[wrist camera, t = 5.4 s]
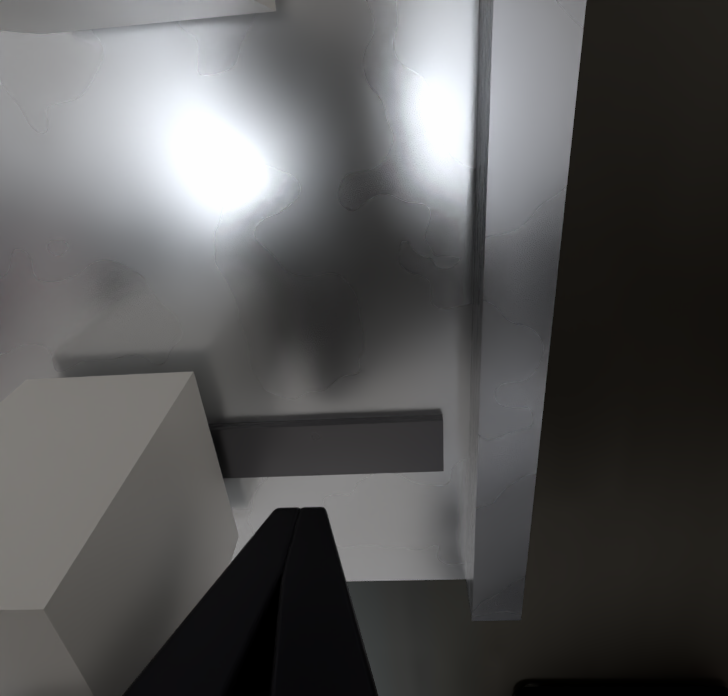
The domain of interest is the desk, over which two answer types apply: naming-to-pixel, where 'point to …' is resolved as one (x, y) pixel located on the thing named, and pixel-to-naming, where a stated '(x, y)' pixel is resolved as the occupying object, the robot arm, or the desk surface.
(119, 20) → the fader
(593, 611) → the desk surface
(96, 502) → the fader
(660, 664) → the desk surface
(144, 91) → the console
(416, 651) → the desk surface
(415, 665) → the desk surface
